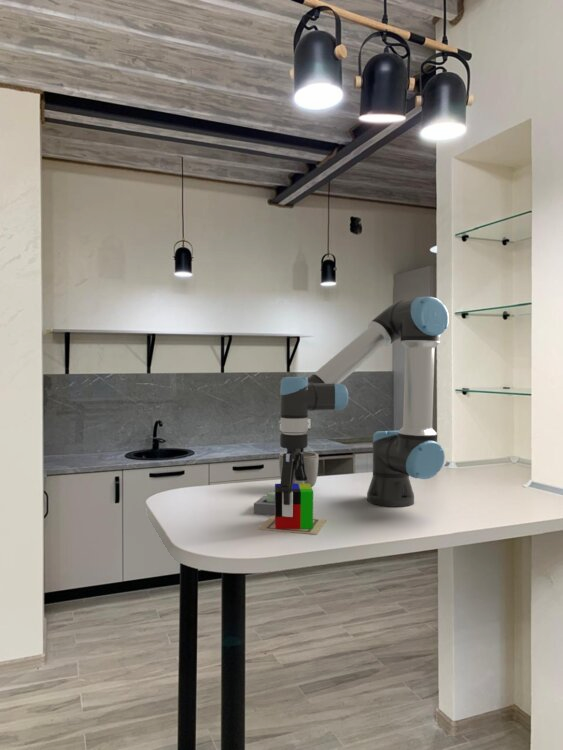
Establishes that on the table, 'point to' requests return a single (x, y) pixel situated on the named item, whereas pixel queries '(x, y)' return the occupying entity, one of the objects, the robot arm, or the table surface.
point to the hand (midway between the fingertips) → (293, 509)
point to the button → (270, 497)
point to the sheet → (270, 525)
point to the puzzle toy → (295, 508)
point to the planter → (310, 467)
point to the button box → (264, 507)
